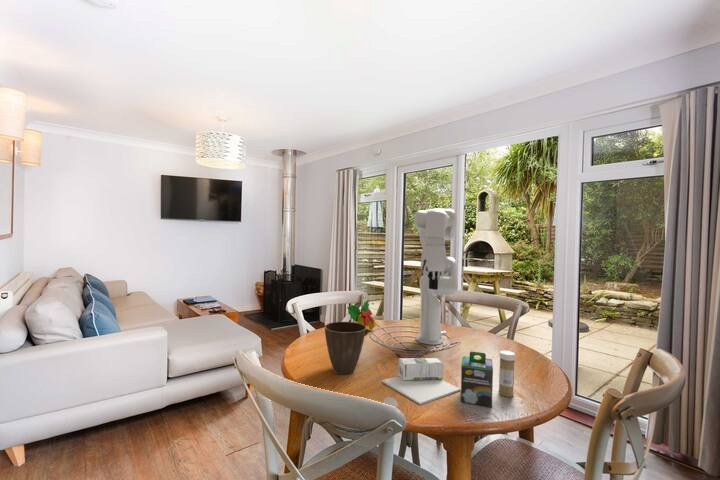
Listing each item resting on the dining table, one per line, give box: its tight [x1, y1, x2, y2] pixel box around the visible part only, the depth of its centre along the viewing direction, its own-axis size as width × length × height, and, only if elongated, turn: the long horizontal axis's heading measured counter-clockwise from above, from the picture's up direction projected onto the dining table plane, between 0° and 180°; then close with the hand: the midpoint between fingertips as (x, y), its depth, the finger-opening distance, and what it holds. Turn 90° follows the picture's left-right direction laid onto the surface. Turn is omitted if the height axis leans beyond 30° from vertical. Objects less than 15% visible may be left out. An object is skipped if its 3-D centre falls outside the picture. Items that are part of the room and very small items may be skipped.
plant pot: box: [324, 321, 366, 375], centre depth 126 cm, size 15×15×16 cm
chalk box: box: [460, 351, 494, 408], centre depth 107 cm, size 9×9×15 cm
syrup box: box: [397, 357, 444, 380], centre depth 121 cm, size 6×6×14 cm
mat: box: [381, 375, 461, 406], centre depth 115 cm, size 18×18×1 cm
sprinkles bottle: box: [497, 350, 516, 398], centre depth 111 cm, size 5×5×13 cm
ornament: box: [347, 300, 378, 332], centre depth 176 cm, size 21×8×15 cm, turn 149°
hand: (433, 289), depth 136 cm, fingers closed
